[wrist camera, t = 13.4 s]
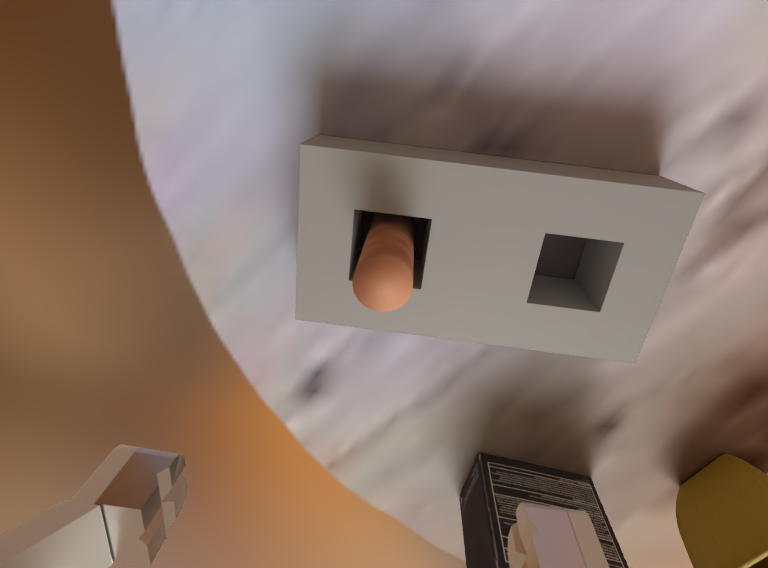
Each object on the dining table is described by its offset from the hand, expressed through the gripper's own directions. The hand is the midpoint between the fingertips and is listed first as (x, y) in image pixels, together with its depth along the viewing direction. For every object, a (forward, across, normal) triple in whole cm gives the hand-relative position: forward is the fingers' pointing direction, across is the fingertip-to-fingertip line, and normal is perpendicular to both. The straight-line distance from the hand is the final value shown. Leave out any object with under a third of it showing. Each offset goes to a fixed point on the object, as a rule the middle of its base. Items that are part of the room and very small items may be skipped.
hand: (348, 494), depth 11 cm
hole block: (+22, -5, 0) cm, 23 cm away
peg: (+22, 0, 0) cm, 22 cm away
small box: (+23, -14, +23) cm, 35 cm away
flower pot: (+23, -30, +19) cm, 42 cm away
